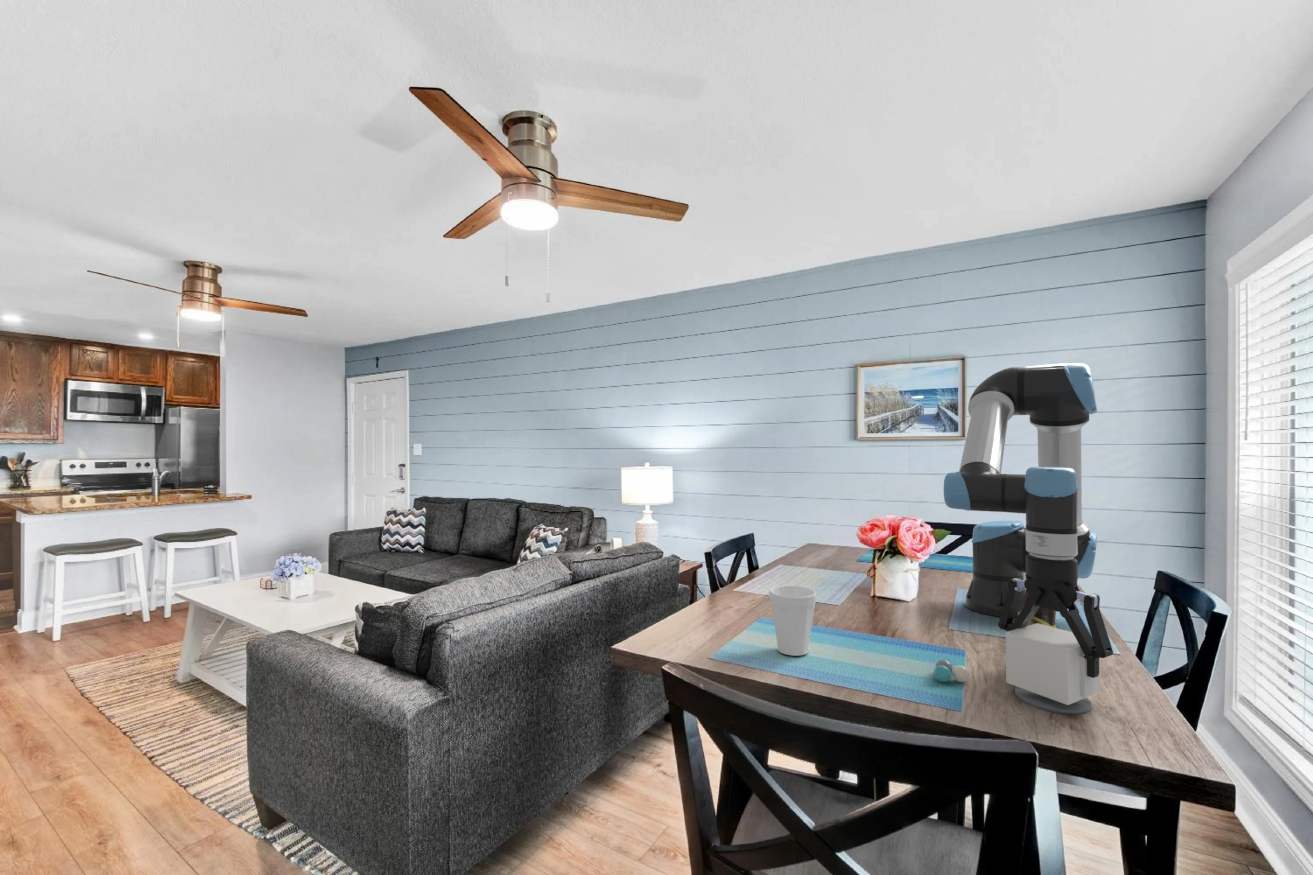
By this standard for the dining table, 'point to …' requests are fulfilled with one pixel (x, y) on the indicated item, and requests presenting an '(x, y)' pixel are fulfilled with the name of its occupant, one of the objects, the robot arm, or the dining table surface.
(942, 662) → the smoky marble
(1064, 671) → the white block
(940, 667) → the teal marble
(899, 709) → the dining table surface
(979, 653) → the dining table surface
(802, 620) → the cup
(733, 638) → the dining table surface
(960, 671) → the cream marble
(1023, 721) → the dining table surface
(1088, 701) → the dark grey disc
